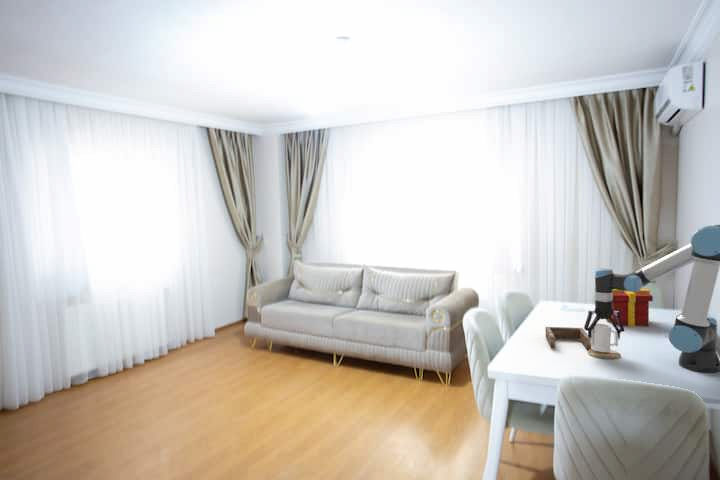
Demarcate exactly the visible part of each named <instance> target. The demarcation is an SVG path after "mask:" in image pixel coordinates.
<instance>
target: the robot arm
mask: <svg viewBox="0 0 720 480" xmlns="http://www.w3.org/2000/svg"><path fill="white" fill-rule="evenodd" d="M692 263H693V265H692V268H691V273H690V275H689V276H690V277H689V279H688V283H687V289H686V293H685V298H684V301H683V306H682V310H681V313H679V314H677V315H676V317H675V321H674V323H673V324H674V326H673V327H671V329H670V330H669V332H668V341H669V342H670V345H672V346H673V348H675V349H676V350H678V351H679V352H681V353H680V355H679V358H678V365H679V366H681V367H682V368H685V369H687V370H691V371H694V372H695V371H696V372H702V373H719V372H720V358H719V356H718V353H717V345H718V344H717V343H718V342H717V338H718V334H717V332H718V331H717V330H718V322H717V319H716V318H715V317H711V316H708V314H709V309H710V306H711V303H712V299H713V296H714V295H713V294H714V291H715V286H716V282H717V278H718V275H719V271H720V224H713V225H706V226H703V227H701V228H699V229H697V230H696V231H695V232H694V233H693V234H692V236H691V238H690V243H689V244H687V245H685V246H683V247H682V248H678V250H675V251H673V252H671V253H669V254H666V255H665V256H663V257H661V258H659V259H657V260H655V261H654V262H651V263H650V264H648V265H645V266H644V267H642V268H640V269H637V270H635V271H634V272H631V273H627V274H620V273H619V274H618V273H614V272H613V269H612V268H597V269H596V270H595V274H594V275H595V276H594V281H595V282H594V283H595V284H594V292H595V293H594V294H595V295H594V297H595V301H594V307H595V308H594V310H590V309H589V310H588V311H587V313H588V314H587V317H586V320H585V323H584V327H583V329H584V331H587V334H588V337H589V338H590V343H591V346H592V345H593V331H592V330H593V328H594V327H595V325H596V324H598V323H599V322H600V320H606V319H609V320H610V322H611V323H612V324H611V323H610V322H609V323H610V324H611V325H612V327H613V328H614V329H615V330H614V331H615V332H616V333H617V335H618V338H619V340H620V339H621V333H622V332H625V328H624V327H625V326H623V324H622V321H621V318H620V312H619V311H613V302H612V301H611V300H613V289H614V290H622V291H629V292H638V291H640V289H642V287H646V286H647V285H648V284H651V283H652V282H654V281H656V280H659V279H661V278H662V277H665V276H667V275H669V274H671V273H673V272H675V271H677V270H680V269H682V268H684V267H686V266H689V265H690V264H692ZM594 314H595V317H594V319H593V321H592V318H593V315H594ZM613 314H615V316H616V318H617V321H618V324H619V326H618V325H616V324H615V322H614V321H613V319H612V318H611V316H612V315H613ZM591 321H592V322H591ZM590 323H591V324H590ZM613 334H614V333H613ZM613 340H614V341H613V344H614V343H616V342H617V336H616V334H614V339H613ZM618 345H619V342H618V343H617V344H616V345H615V347H618Z"/></svg>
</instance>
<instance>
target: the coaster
mask: <svg viewBox="0 0 720 480" xmlns="http://www.w3.org/2000/svg"><path fill="white" fill-rule="evenodd" d="M610 350H611V351H610V352H599V351H595V350H593V349H590V350H587V354H588V356H590V357H593V358H595V359H600V360H617V359H620V358H621V353H619V352H618V351H616V350H613V349H610Z"/></svg>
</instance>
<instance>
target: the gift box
mask: <svg viewBox="0 0 720 480" xmlns="http://www.w3.org/2000/svg"><path fill="white" fill-rule="evenodd" d="M653 299H654V296H653V295H651V290H650V289H644V288H643V289H642V288H641V289H640V291H638V292H629V291H622V290H614V289H613V300H611V301H612V302H613V311H619V312H620V318H621V321H622V324H623V327H632V328H634V327H649V326H650V325H649V324H650V323H649V317H650V316H649V315H650V314H649V313H650V312H649V311H650V306H649V302H653ZM611 318H612V319H613V321H614V322H615V324H616V325H617V327H619V324H618V321H617V318H616V316H615V314H613V315H612V316H611ZM605 321H606V323H610V324H611V325H612V323H611V322H610V320H609V319H605Z"/></svg>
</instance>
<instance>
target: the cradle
mask: <svg viewBox="0 0 720 480" xmlns="http://www.w3.org/2000/svg"><path fill="white" fill-rule="evenodd" d="M546 338H547V339H546ZM555 338H562V339H561V340H579V341H580V342H581V344H582V345H583V347H584V348H585V350H586V351H588V350H590V349H591V346H592V345H591V343H590V338H589V337H588V332H586V330H585V329H584V327H564V326H545V339H546V341H547V340H548V341H547V343H548V346H549V347H551V348H550V349H552V348H555V349H556V339H555Z"/></svg>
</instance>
